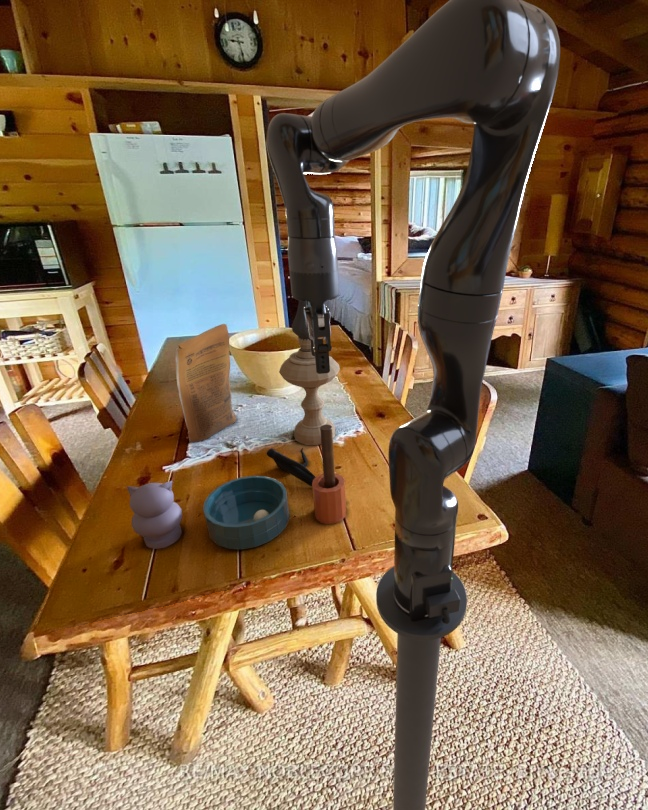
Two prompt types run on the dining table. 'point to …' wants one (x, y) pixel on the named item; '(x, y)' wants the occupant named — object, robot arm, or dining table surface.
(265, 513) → the ball
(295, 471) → the black elongated part
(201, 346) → the pancake mix bag
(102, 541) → the dining table surface
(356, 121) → the robot arm
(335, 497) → the holder
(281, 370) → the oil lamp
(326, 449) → the stick
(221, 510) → the bowl
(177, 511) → the cat figurine
